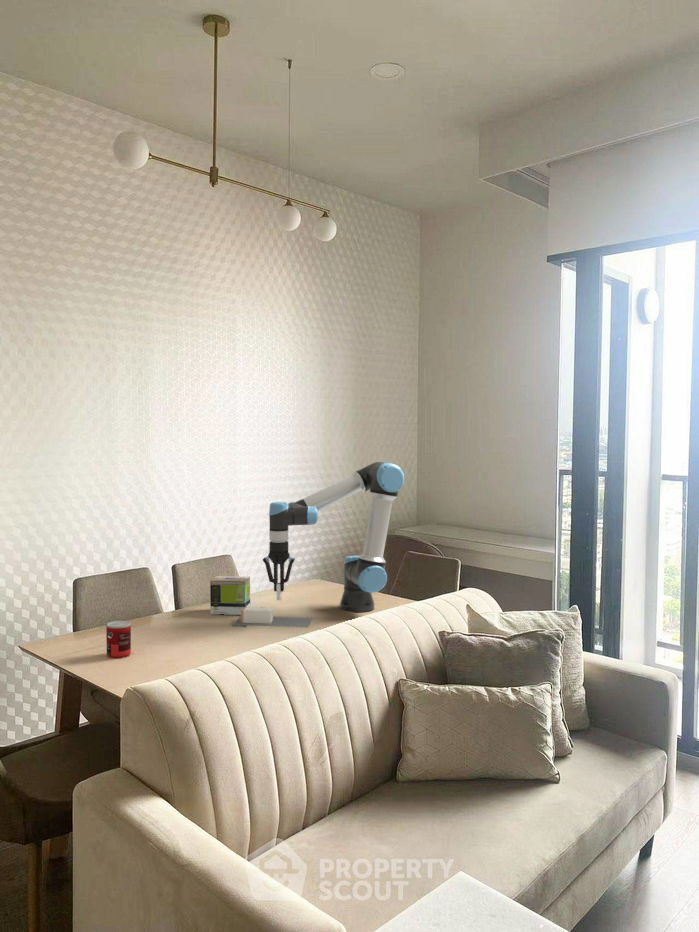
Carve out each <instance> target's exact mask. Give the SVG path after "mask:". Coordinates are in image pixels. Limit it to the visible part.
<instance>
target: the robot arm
mask: <svg viewBox="0 0 699 932" xmlns="http://www.w3.org/2000/svg"><path fill="white" fill-rule="evenodd" d="M404 483H405V475H404V471H403V470H402V469H401V467H399V465H397V464H394V463H391V462H383V461H377V462H376V461H375V462H373V463H370V464H368V465H366V466H364V467H362V468H361V469H358V470H356V471H354V472H353V474H352V475H351V476H348V477H347V478H344V479H342V480H340V481H339V482H336V483H333V484H332V485H330V486H327V487H325V488H323V489H320V490H319V491H317V492H314V493H312V494H310V495H308V496H306V497H304V498H301V499H300V500H296V501H294V502H293V501H292V502H286V501H274V502H270V504H269V511H268V512H269V513H268V516H269V517H268V518H269V519H268V520H269V521H268V522H269V530H268V531H269V534H268V536H269V537H268V539H269V543H268V544H269V546H268V547H269V550H268V551H269V552H268V554H267V556H266V557H264V558H262V561H263V563H264V565H265V570H266V573H267V576H268V580H269V583H273V591H274V592H276V601H281V600H282V592H284V590H285V583H288V582H289V580H290V576H291V573H292V569H293V564H294V563H295V560H296V558H295V557H292V556H290V552H289V541H288V540H289V526H291V527H292V526H311V525H316V524H317V523H318V521H319V511H321V510H323V509H325V508H328V507H330V506H332V505H334V504H336V503H339V502H340V501H343V500H344V499H347V498H349V497H351V496H353V495H355V494H358V493H360V492H361V493H365V492H367V491H369V493H370V496H371V497H372V499H371V504H370V510H369V516H368V517H369V518H368V521H367V522H368V523H367V528H366V533H365V539H364V544H363V551H362V554H359V555H349V556H348V555H347V556H345V558H344V561H343V562H344V563H343V593H342V594H341V599H340V602H339V609H340V610H341V611H347V612H353V613H366V612H371V611H373V610H375V601H374V600H375V599H374V597H373V594H374V593H378V592H380V591H381V590H382V589H383V588H384V587H385V586H386V584H387V581H388V575H387V572H386V570H385V569H386V560H385V558H384V554H385V553H384V552H385V547H386V542H387V536H388V530H389V524H390V519H391V513H392V506H393V501H394V500H396V499H397V498H398V494H399V490H401V489H402V487H403V485H404ZM270 561H271V563H273V573H272V568H271V564H270ZM287 561H288V566H287V569H286V572H285V563H286V562H287ZM278 570H279V571H278ZM285 573H286V575H285ZM279 576H280V577H279Z"/></svg>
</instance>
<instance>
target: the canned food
mask: <svg viewBox="0 0 699 932" xmlns="http://www.w3.org/2000/svg"><path fill="white" fill-rule="evenodd" d="M105 630H106V631H105V632H106V637H105V638H106V639H105V640H106V656H107V658H109V657H110V659H123V657H125V658H128V657H129V656H130V655H131V653H132V650H131V649H132V643H131V642H132V638H131V637H132V633H131V632H132V626H131V622H130V621H127V620H115V621H109V622H107V623H106V629H105ZM127 656H128V657H127Z"/></svg>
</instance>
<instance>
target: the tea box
mask: <svg viewBox="0 0 699 932" xmlns="http://www.w3.org/2000/svg"><path fill="white" fill-rule="evenodd" d="M209 582H210V583H209V584H210V585H209V587H210V588H209V591H210V592H209V593H210V594H209V596H210V597H209V599H210V601H209V602H210V603H209V604H210V615H220V614H224V615H226V616H227V615H231V616H241V610H242V609H243V608H244V607H251V577H250V576H239V575H238V576H236V575H235V576H225V575H216V576H215V577H214V578H211V580H209Z"/></svg>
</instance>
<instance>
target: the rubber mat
mask: <svg viewBox="0 0 699 932" xmlns="http://www.w3.org/2000/svg"><path fill="white" fill-rule="evenodd" d="M313 619H314V618H313V617H301V616H300V617H297V616H294V617H292V616H273V621H272V622H271V624H269V623H241V615H239V616H238V618H237V620H235V621H234V623H233V624H232V627H246V626H247V627H249V626H253V627H255V626H256V627H283V628H285V627H290V628H292V627H293V628H309V626H310V625H311V623H312V621H313Z"/></svg>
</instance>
